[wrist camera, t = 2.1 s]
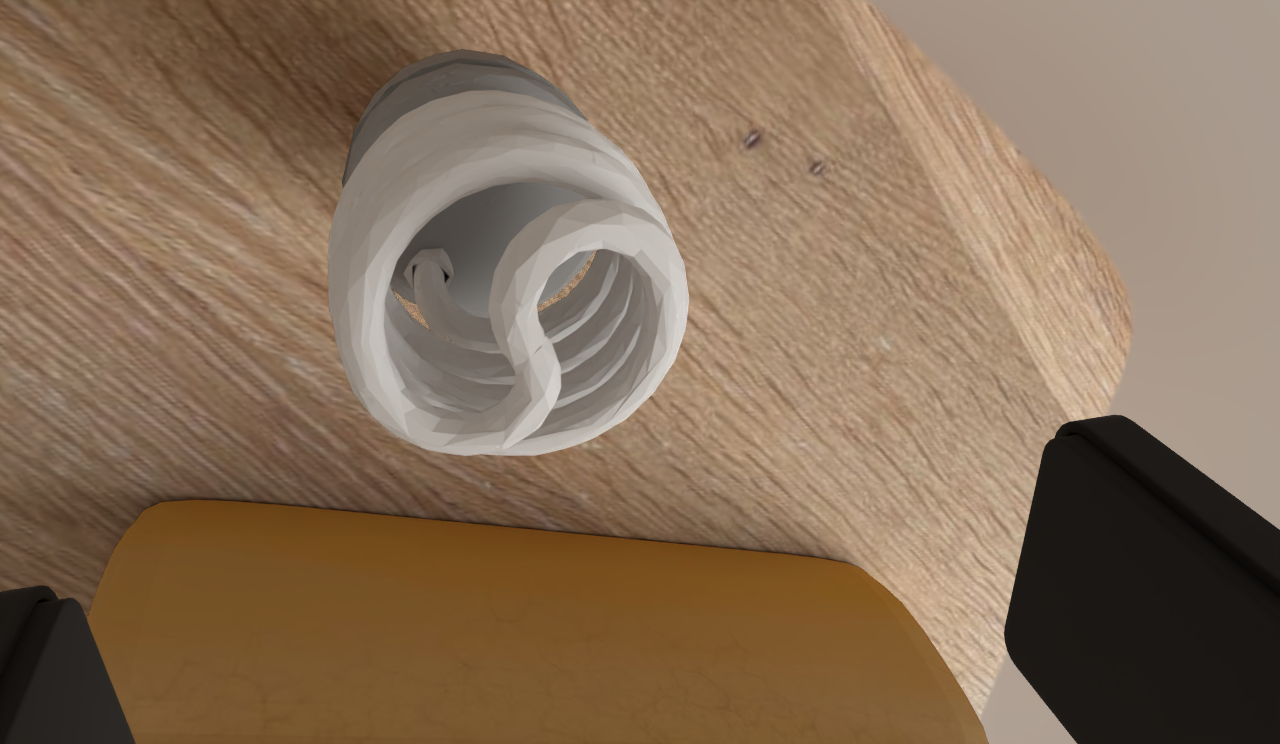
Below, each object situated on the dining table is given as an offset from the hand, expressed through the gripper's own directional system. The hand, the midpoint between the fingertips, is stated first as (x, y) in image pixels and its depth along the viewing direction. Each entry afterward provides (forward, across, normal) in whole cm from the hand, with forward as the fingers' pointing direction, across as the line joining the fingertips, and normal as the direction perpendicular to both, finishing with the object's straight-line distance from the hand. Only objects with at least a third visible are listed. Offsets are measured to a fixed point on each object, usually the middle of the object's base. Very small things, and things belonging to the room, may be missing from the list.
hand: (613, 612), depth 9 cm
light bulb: (+17, 0, 0) cm, 17 cm away
